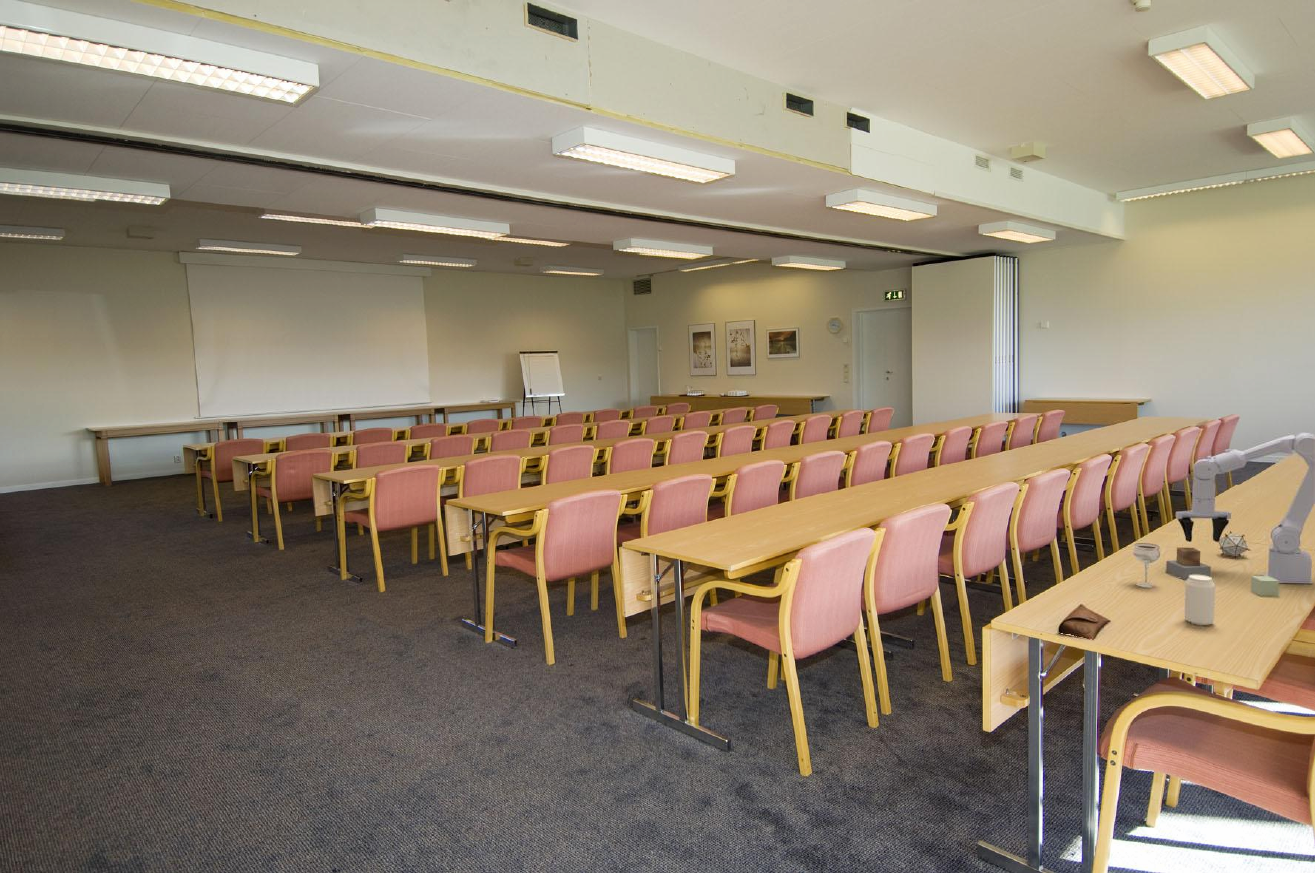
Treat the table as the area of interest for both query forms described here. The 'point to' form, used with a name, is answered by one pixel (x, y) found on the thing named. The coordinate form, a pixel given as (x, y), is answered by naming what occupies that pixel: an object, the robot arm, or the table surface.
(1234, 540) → the game die
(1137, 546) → the wineglass
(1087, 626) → the sunglasses case
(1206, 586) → the beverage can
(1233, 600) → the table surface
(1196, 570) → the grey square block
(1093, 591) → the table surface
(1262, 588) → the sage-green block
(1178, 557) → the walnut block
